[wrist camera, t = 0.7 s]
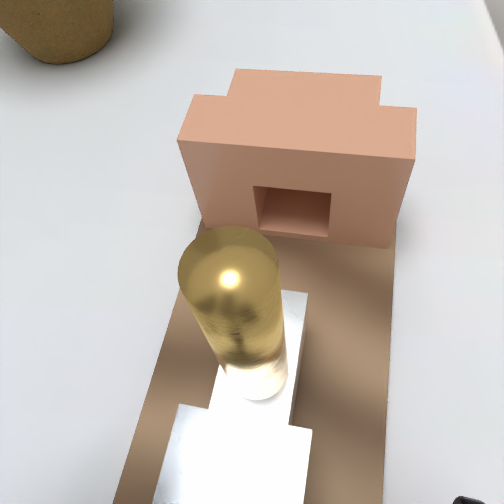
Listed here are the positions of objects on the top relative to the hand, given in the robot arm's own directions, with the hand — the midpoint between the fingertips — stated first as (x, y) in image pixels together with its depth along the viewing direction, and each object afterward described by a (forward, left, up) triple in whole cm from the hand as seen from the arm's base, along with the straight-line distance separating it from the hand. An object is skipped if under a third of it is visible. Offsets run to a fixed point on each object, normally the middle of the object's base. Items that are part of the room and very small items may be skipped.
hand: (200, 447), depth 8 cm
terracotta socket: (+15, +1, -12) cm, 20 cm away
